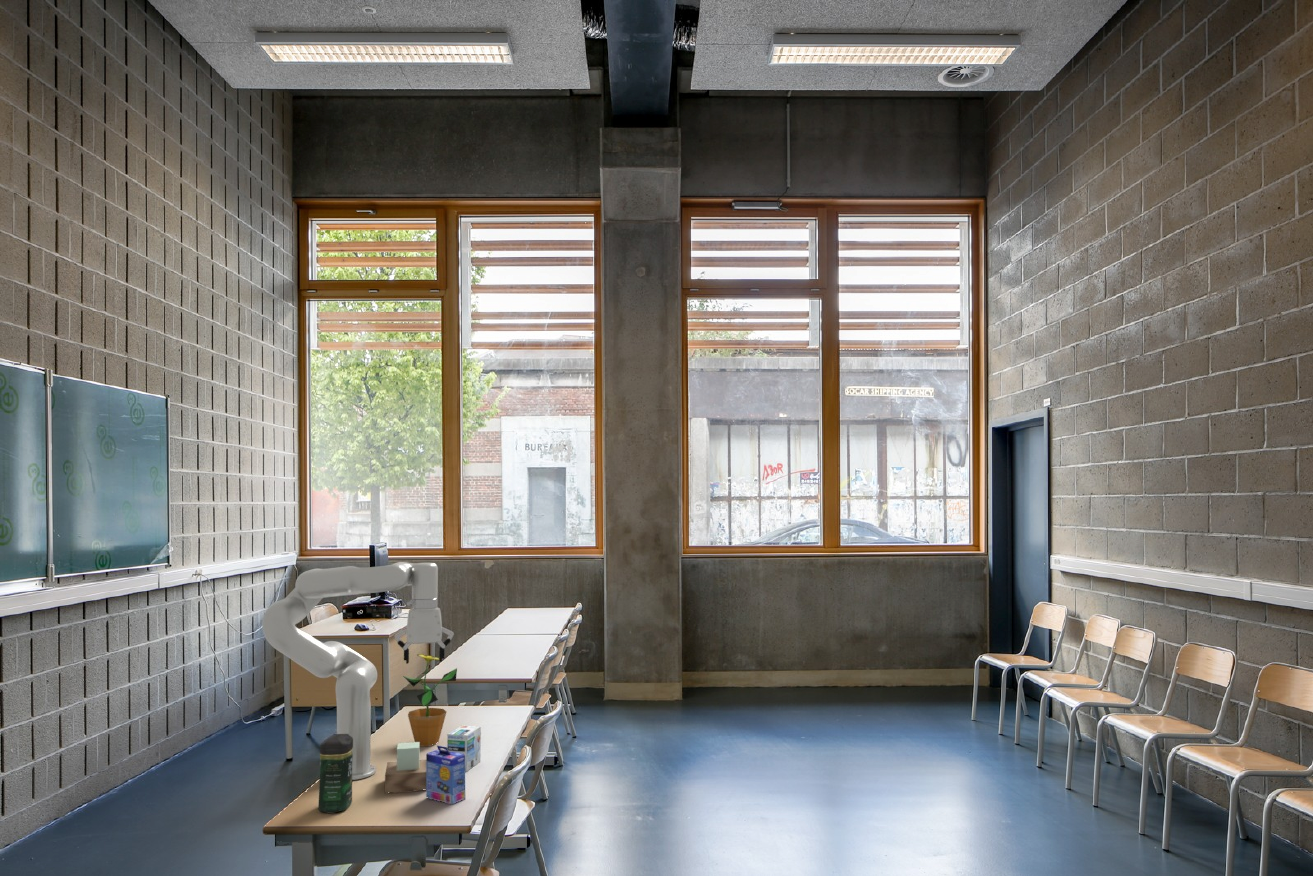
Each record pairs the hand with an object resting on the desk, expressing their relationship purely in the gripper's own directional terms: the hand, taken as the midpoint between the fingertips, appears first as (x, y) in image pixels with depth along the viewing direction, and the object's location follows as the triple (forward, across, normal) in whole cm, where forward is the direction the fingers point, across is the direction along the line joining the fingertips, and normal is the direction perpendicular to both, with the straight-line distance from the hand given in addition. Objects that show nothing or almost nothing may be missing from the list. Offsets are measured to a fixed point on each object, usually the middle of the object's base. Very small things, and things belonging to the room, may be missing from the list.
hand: (424, 662), depth 270 cm
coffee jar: (+32, -22, -25) cm, 47 cm away
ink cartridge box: (+33, +6, -26) cm, 42 cm away
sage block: (+27, -4, -11) cm, 30 cm away
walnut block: (+32, -4, -11) cm, 34 cm away
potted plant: (+32, +1, +31) cm, 45 cm away
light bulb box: (+33, +12, +3) cm, 35 cm away
